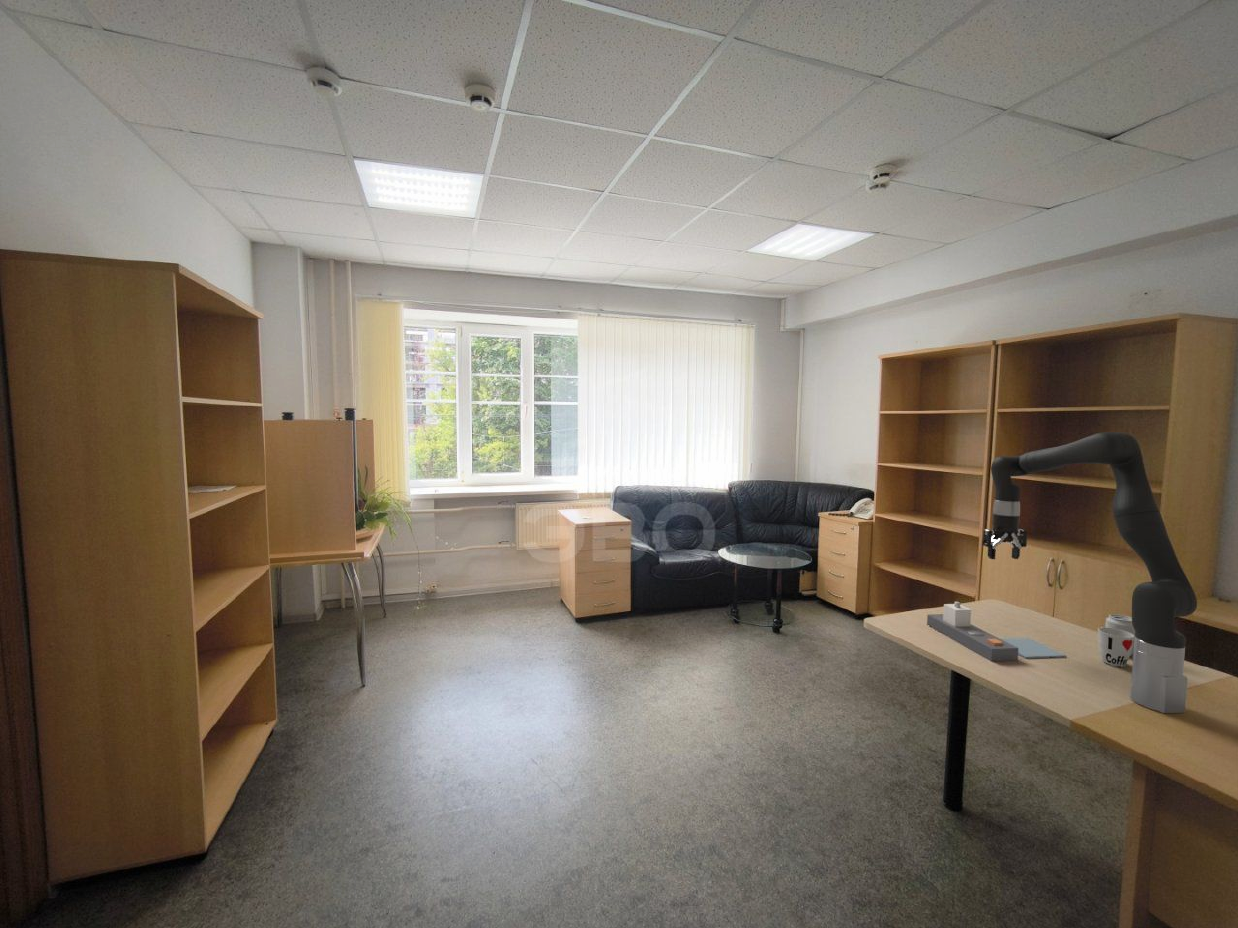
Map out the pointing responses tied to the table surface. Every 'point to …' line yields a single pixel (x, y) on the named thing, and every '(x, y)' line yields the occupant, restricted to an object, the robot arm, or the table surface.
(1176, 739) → the table surface
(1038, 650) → the mat
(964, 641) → the power strip
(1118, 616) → the can
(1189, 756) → the table surface
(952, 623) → the block
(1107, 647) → the cup
